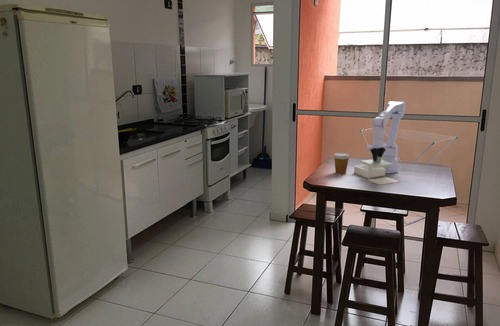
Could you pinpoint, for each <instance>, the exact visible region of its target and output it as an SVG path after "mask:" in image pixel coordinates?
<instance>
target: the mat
mask: <svg viewBox="0 0 500 326" xmlns="http://www.w3.org/2000/svg"><path fill="white" fill-rule="evenodd" d="M368 182H372V183H374V184H376V185H379V186H382V185H389V184H394V183H399V182H400V181H399V180H396V179H393V178H390V177H388V176H383V177H376V178H368Z"/></svg>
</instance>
